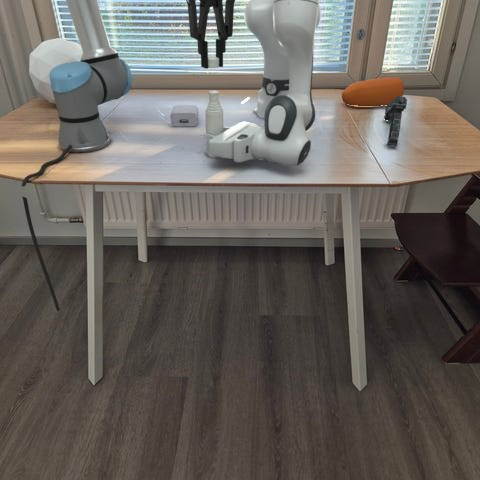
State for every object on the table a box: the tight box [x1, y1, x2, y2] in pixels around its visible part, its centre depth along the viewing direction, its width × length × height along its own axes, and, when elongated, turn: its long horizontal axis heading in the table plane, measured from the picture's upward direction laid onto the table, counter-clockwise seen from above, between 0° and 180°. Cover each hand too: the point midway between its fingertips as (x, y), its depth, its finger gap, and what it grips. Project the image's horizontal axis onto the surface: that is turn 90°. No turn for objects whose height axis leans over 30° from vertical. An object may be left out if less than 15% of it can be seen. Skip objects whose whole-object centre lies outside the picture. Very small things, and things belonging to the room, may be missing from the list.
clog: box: [341, 76, 405, 109], centre depth 165 cm, size 12×11×25 cm
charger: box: [169, 105, 199, 127], centre depth 148 cm, size 5×9×15 cm
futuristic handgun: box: [383, 95, 408, 147], centre depth 138 cm, size 4×29×15 cm, turn 164°
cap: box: [208, 56, 219, 69], centre depth 109 cm, size 4×4×2 cm
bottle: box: [204, 89, 224, 159], centre depth 119 cm, size 5×5×19 cm
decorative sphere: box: [28, 37, 83, 105], centre depth 157 cm, size 24×25×25 cm
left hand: (212, 66), depth 110 cm, fingers closed on cap, 4 cm apart
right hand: (212, 133), depth 120 cm, fingers closed on bottle, 5 cm apart
